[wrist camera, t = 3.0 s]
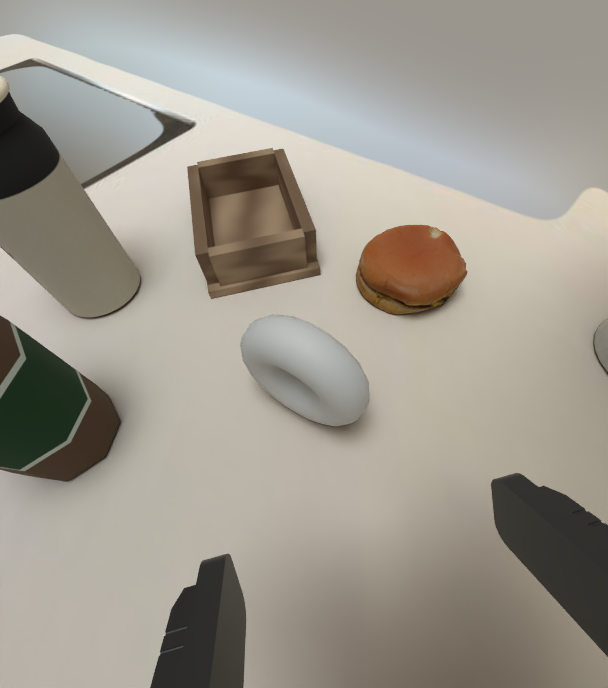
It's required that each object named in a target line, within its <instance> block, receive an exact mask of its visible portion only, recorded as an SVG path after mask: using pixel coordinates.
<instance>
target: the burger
mask: <svg viewBox="0 0 608 688" xmlns="http://www.w3.org/2000/svg"><path fill="white" fill-rule="evenodd" d="M359 261H360V262H359V266H358V269H357V273H356V281H357V286H358V288H359V290H360V292H361V293H362V295H363V296H364V297H365V299H367V300H368V301H369V302H370V303H372V304H373V305H374V306H376V307H377V308H379V309H381V310H383V311H385V312H387V313H390V314H407V313H413V312H420V311H424V310H428V309H431V308H433V307H437V306H440V305H443V304H444V303H445V301H446V300H447V299H448V298H450V296H451V295H452V293H453V292H454V290H455V289H457V287H458V286H459V285H460V283H461V282H462V281H463V279H464V278H465V277H466V275H467V271H466V263H465V261H464V259H463V258H461V255H460V252H459V250H458V248H457V246H456V245H455V243H454V241H453V240H452V239H451V237H450V236H449V235H448V234H447V233H445V232H443V231H440V230H439V229H437V228H434V227H430V226H428V225H405V226H399V227H395V228H392V229H388V230H386V231H385V232H383V233H381V234H379V235H377V236H376V237H374V238H373V239H372V240H371V241H370V242H369V243H368V244H367V245H366V246H365V248H364V250H363V252H362V255H361V258H360V260H359Z"/></svg>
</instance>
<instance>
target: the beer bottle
mask: <svg viewBox="0 0 608 688" xmlns="http://www.w3.org/2000/svg"><path fill="white" fill-rule="evenodd" d="M119 424H120V420H119V418H118V416H117V413H116V411H115V409H114V407H113V405H112V403H111V401H110V398H109V396H108V395H107V394H106V393H105V392H104V391H103V390H102V389H100V388H99V387H98V386H97V385H96V384H94V383H93V382H92V381H90V380H89V379H88V378H86V377H85V376H83V375H82V374H81V373H79V372H78V371H77V370H75V369H74V368H73V367H71V366H70V365H68V364H67V363H66V362H64V361H63V360H62V359H60V358H59V357H58V356H56V355H55V354H53V353H52V352H51V351H49V350H48V349H47V348H45V347H44V346H43V345H41V344H40V343H38V342H37V341H36V340H34V339H33V338H32V337H30V336H29V335H28V334H26V333H25V332H23V331H22V330H21V329H19V328H18V327H17V326H15V325H14V324H13V323H11V322H10V321H8V320H7V319H5V318H3V317H2V316H0V470H4V471H8V472H12V473H17V474H22V475H28V476H34V477H40V478H47V479H54V480H61V481H69V480H71V479H72V478H74V477H75V476H77V475H78V474H80V473H81V472H83V471H84V470H86V469H88V468H89V467H91V466H92V465H94V464H95V463H97V462H98V461H100V460H101V459H103V458H104V457H105V456H106V454H107V452H108V449H109V447H110V445H111V443H112V440H113V438H114V436H115V433H116V431H117V429H118V427H119Z"/></svg>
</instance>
